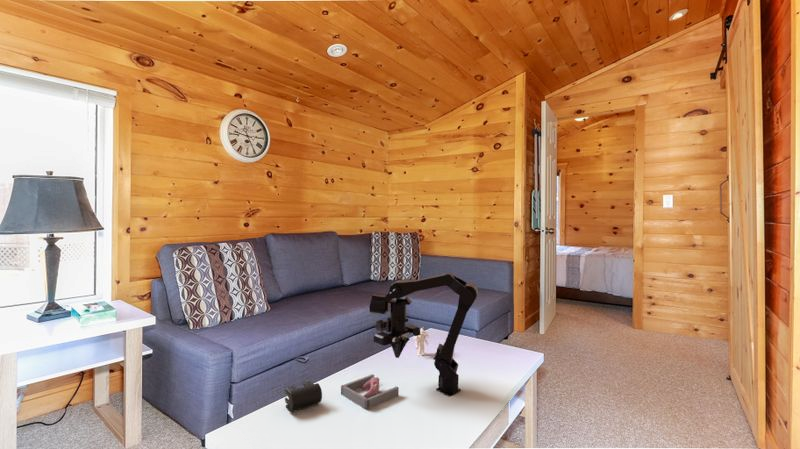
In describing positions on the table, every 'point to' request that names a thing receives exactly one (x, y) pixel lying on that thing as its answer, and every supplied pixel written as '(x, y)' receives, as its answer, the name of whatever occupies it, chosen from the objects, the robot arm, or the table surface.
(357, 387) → the sorting bay
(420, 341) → the flower shoulder figurine
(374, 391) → the pink curved piece
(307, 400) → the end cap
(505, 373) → the table surface
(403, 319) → the robot arm
